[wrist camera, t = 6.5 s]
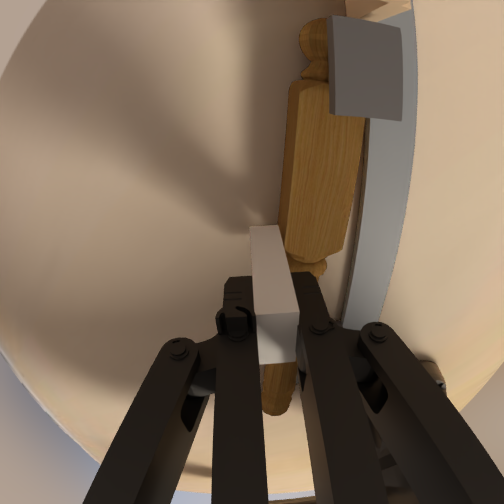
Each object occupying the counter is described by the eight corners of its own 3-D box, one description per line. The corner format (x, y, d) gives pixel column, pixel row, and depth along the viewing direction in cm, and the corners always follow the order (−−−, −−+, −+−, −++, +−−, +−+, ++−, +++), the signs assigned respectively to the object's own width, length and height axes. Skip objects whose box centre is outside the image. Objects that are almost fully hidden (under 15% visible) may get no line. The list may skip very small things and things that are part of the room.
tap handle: (259, 418, 24) (304, 6, 8) (257, 392, 27) (292, 21, 11) (291, 417, 24) (372, 21, 9) (288, 391, 27) (349, 31, 11)
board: (360, 362, 24) (377, 413, 19) (268, 372, 24) (273, 429, 19) (397, -52, 7) (447, -82, 2) (252, -75, 7) (257, -131, 2)
